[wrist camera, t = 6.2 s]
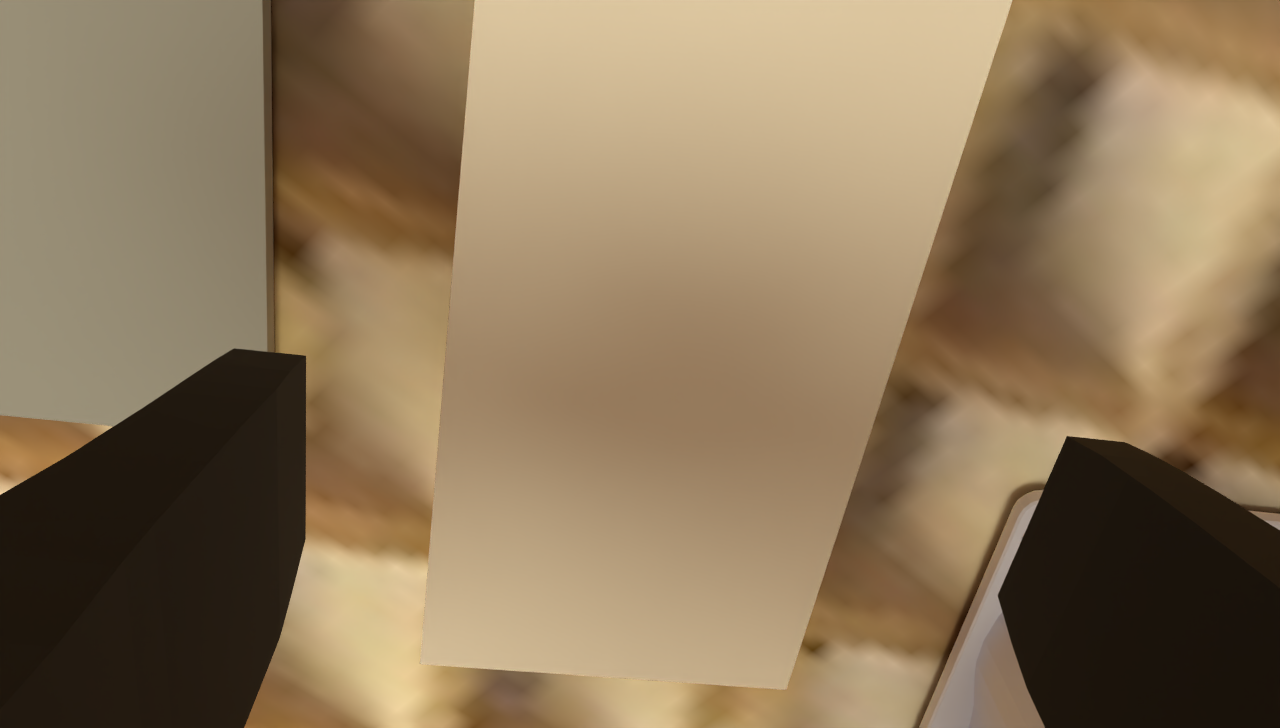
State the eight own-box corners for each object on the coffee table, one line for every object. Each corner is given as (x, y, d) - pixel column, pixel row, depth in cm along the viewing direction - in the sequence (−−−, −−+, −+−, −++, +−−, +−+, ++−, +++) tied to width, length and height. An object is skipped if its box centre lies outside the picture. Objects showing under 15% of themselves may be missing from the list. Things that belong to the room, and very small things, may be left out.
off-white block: (719, 417, 20) (786, 689, 14) (465, 390, 19) (420, 663, 13) (852, -137, 15) (1040, -88, 9) (521, -198, 15) (490, -189, 9)
